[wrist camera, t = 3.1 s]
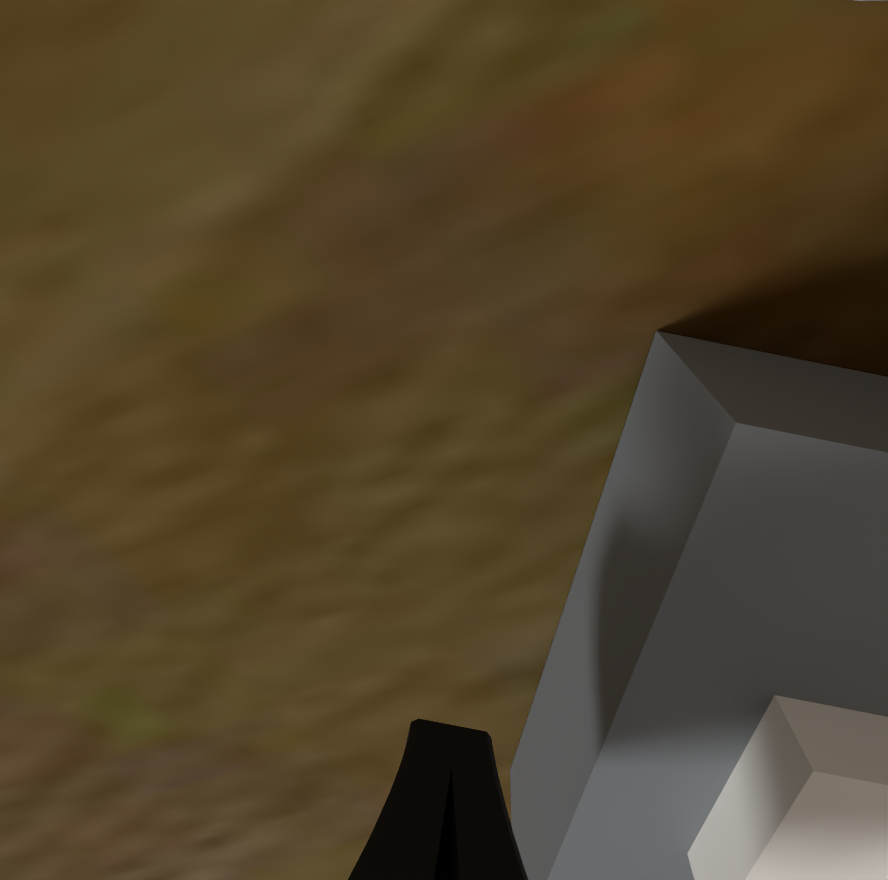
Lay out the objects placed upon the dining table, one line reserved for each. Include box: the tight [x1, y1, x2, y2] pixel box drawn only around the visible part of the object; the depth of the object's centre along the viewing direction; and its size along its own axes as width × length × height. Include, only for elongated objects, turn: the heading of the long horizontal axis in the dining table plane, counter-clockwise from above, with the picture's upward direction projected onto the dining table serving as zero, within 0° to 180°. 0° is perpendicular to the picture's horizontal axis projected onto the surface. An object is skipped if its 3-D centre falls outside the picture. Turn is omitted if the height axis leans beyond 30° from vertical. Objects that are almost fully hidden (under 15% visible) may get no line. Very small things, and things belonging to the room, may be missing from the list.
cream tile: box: [687, 695, 888, 880], centre depth 11 cm, size 4×4×2 cm
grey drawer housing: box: [510, 331, 888, 880], centre depth 14 cm, size 14×14×5 cm
